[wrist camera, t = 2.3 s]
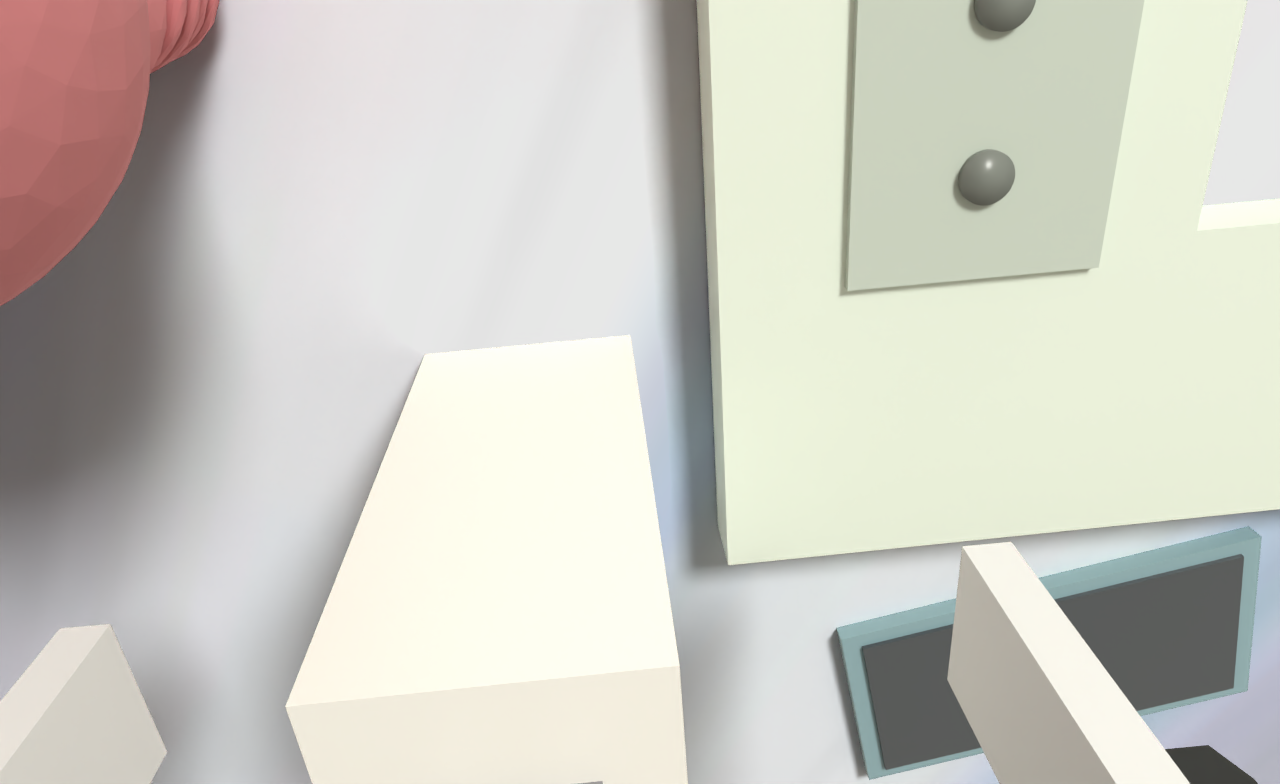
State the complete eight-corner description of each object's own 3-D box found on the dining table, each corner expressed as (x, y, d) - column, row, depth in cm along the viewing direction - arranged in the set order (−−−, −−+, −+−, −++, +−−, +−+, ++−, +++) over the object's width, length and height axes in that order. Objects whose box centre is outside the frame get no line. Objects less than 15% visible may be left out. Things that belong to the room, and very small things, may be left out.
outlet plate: (717, 525, 21) (730, 575, 19) (685, -280, 14) (700, -316, 12) (1577, 438, 22) (1666, 479, 20) (1963, -375, 15) (2152, -422, 13)
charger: (459, 524, 21) (340, 1083, 10) (424, 354, 19) (234, 834, 8) (644, 506, 21) (713, 1039, 10) (630, 335, 19) (697, 784, 8)
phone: (859, 751, 26) (870, 782, 25) (830, 613, 23) (842, 642, 22) (1223, 665, 25) (1250, 694, 24) (1234, 514, 23) (1265, 539, 22)
